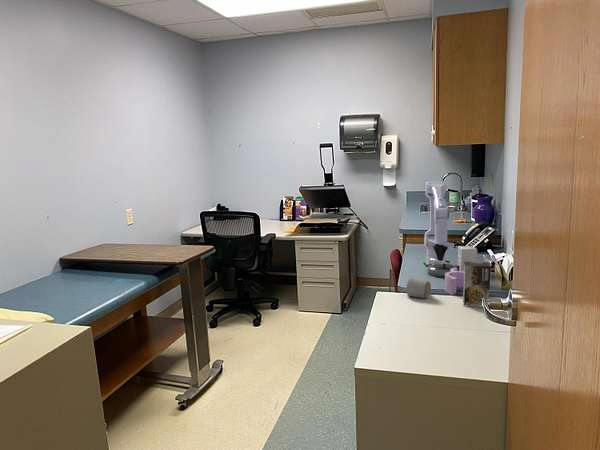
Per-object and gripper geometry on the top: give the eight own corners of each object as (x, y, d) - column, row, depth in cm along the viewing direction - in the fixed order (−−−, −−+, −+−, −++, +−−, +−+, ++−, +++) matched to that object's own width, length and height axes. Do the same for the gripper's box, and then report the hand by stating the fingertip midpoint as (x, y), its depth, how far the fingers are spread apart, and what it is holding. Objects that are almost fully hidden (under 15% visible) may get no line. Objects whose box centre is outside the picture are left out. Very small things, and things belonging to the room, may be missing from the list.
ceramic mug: (425, 301, 170) (426, 282, 169) (405, 297, 174) (406, 279, 173) (433, 294, 179) (434, 276, 178) (414, 291, 183) (414, 273, 182)
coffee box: (487, 302, 167) (489, 262, 164) (489, 308, 161) (491, 265, 158) (462, 300, 169) (464, 260, 167) (463, 306, 163) (465, 264, 161)
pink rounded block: (445, 281, 197) (445, 267, 196) (474, 284, 193) (475, 269, 192) (444, 294, 178) (444, 278, 177) (476, 297, 174) (477, 280, 173)
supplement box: (472, 270, 216) (473, 245, 214) (476, 274, 208) (477, 248, 207) (456, 270, 216) (457, 245, 215) (460, 274, 209) (461, 248, 207)
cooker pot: (437, 268, 221) (437, 260, 220) (467, 276, 205) (467, 267, 205) (417, 272, 214) (418, 263, 213) (447, 280, 198) (447, 271, 198)
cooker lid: (440, 262, 218) (441, 259, 218) (462, 268, 206) (463, 264, 206) (422, 258, 211) (423, 254, 211) (444, 263, 199) (445, 259, 199)
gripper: (423, 231, 210) (422, 258, 212) (447, 235, 198) (446, 264, 199) (433, 230, 214) (433, 257, 215) (457, 233, 201) (456, 262, 203)
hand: (440, 260), depth 208 cm, fingers closed, pressing on cooker lid
